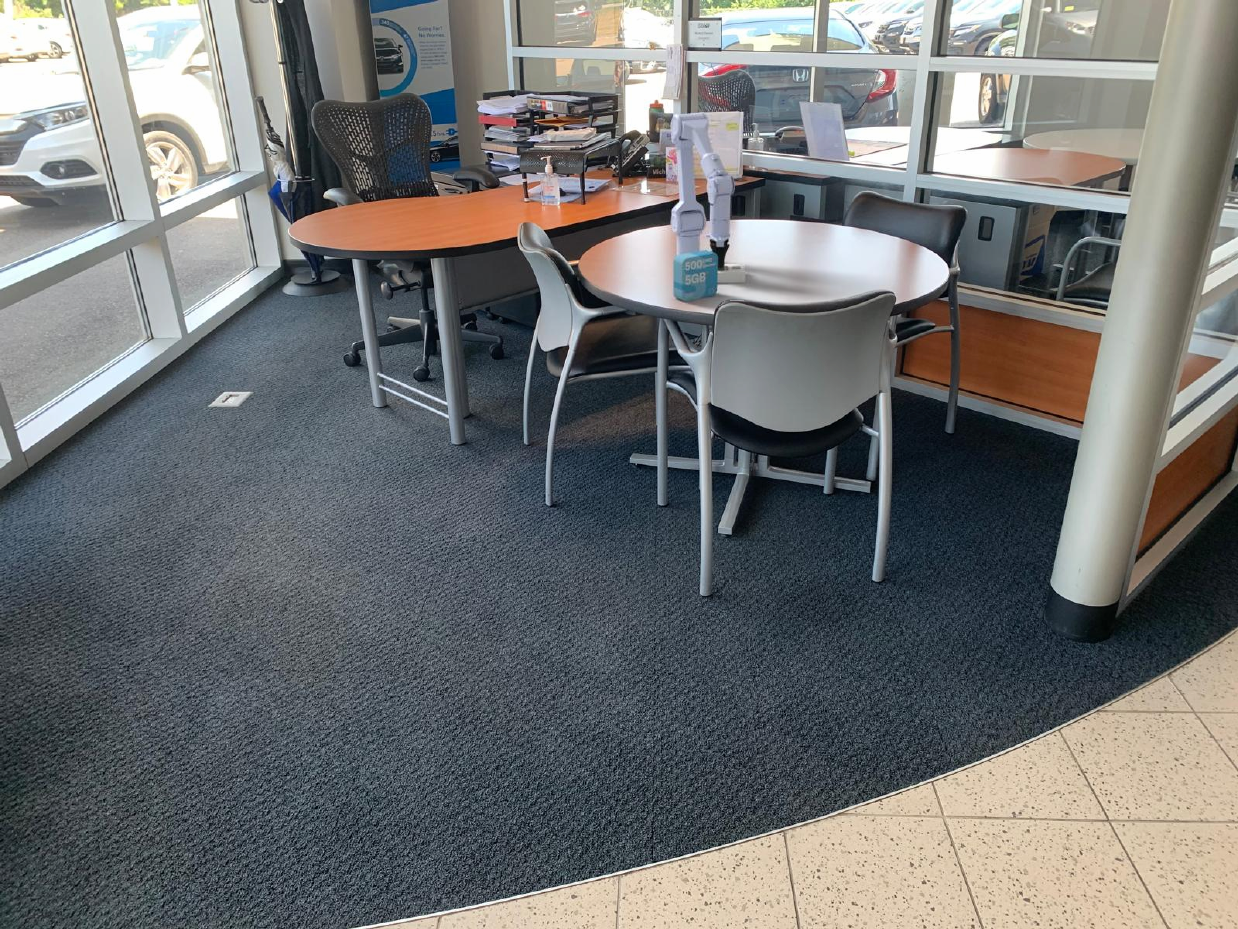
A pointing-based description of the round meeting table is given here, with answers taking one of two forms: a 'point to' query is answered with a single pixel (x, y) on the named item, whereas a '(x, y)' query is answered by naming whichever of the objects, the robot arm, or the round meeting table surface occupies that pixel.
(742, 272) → the white socket board
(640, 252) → the round meeting table surface
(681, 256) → the data package
